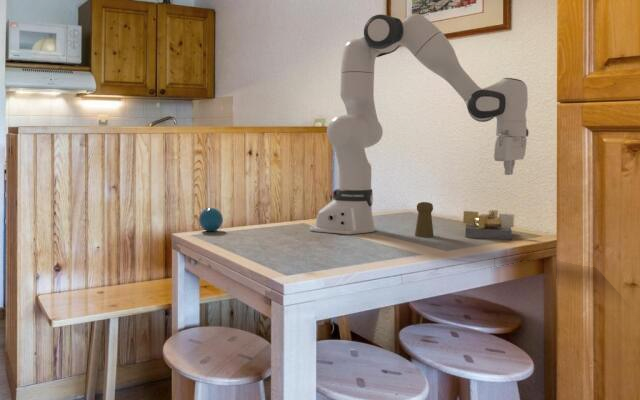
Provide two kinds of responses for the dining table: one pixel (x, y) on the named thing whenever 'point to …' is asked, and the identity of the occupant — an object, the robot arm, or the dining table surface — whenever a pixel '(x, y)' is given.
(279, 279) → the dining table surface
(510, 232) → the housing
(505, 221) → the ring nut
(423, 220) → the cork
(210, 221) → the ball
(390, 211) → the dining table surface
